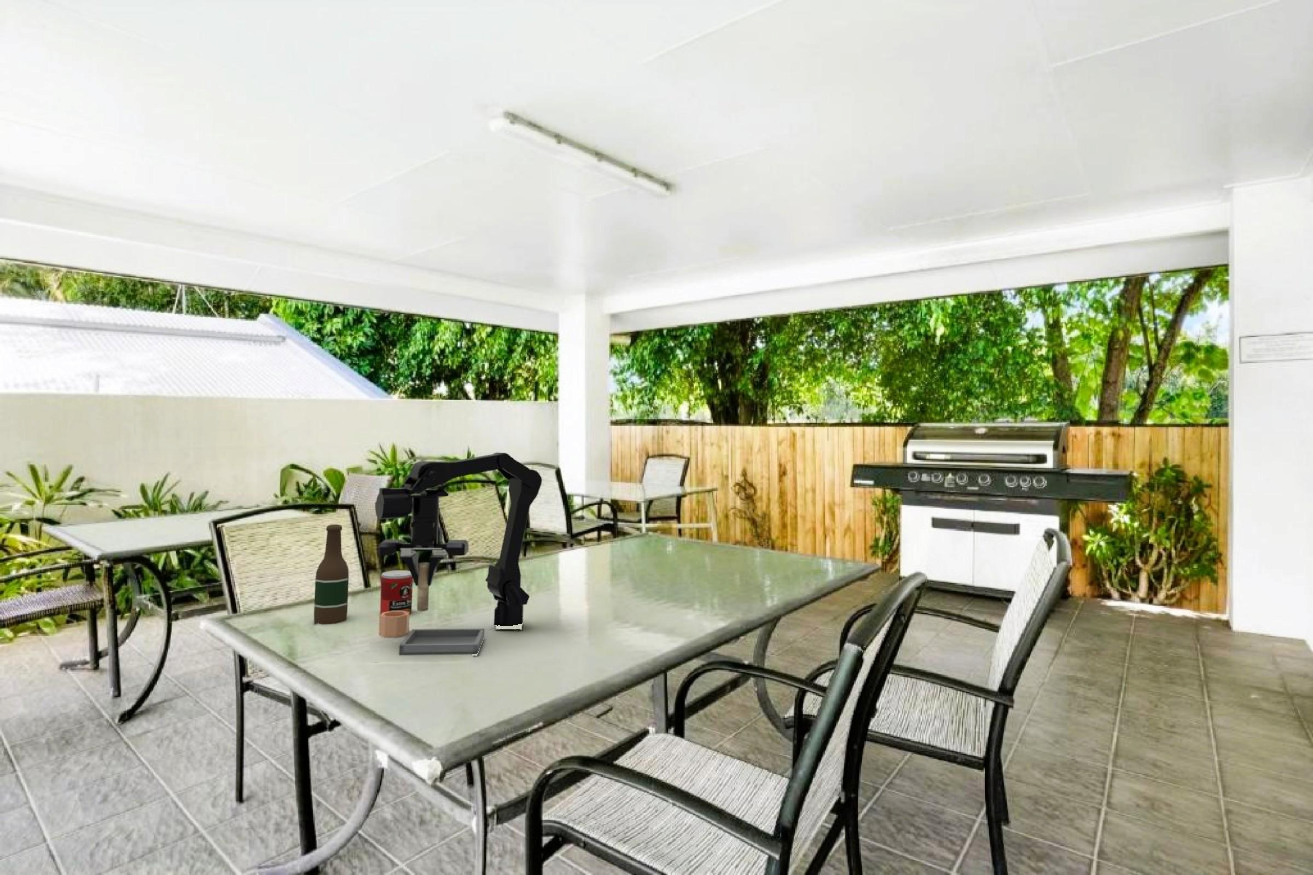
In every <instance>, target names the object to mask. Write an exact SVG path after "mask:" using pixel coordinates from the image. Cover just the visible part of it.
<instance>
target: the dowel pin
mask: <svg viewBox="0 0 1313 875" xmlns="http://www.w3.org/2000/svg"><path fill="white" fill-rule="evenodd" d="M428 573H429V562H418V586H417V595H416V596H417V598H416V602H417V603H416V610H417V611H418V612H427V611H428V610H429V602H430V601H429V599H430V598H429V597H430V596H429V594H430V591H429V590H430V586H428Z"/></svg>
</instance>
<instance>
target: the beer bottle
mask: <svg viewBox="0 0 1313 875" xmlns="http://www.w3.org/2000/svg"><path fill="white" fill-rule="evenodd" d="M325 530H326V532H327V533H326V541H325V549H324V550H325V552H324V554H323V559H322V560H321V562H320V563H319V565H318V566H317V569H316V571H315V578H314V580H315V582H314V603H313V604H314V606H313V607H314V608H313V624H314V625H315V626H316V625H332V624H333V625H334V624H339V623H343V622H346V620H347V619H348V607H349V606H348V605H349V604H348V602H349V581H350V580H349V578H350V576H349V575H350V574H349V573H350V572H349V567H348V563H347V561H346V560H345V559H344V557H343V553H342V530H343V527H342V525H341V524H329V525H327V526H326V528H325Z"/></svg>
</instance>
